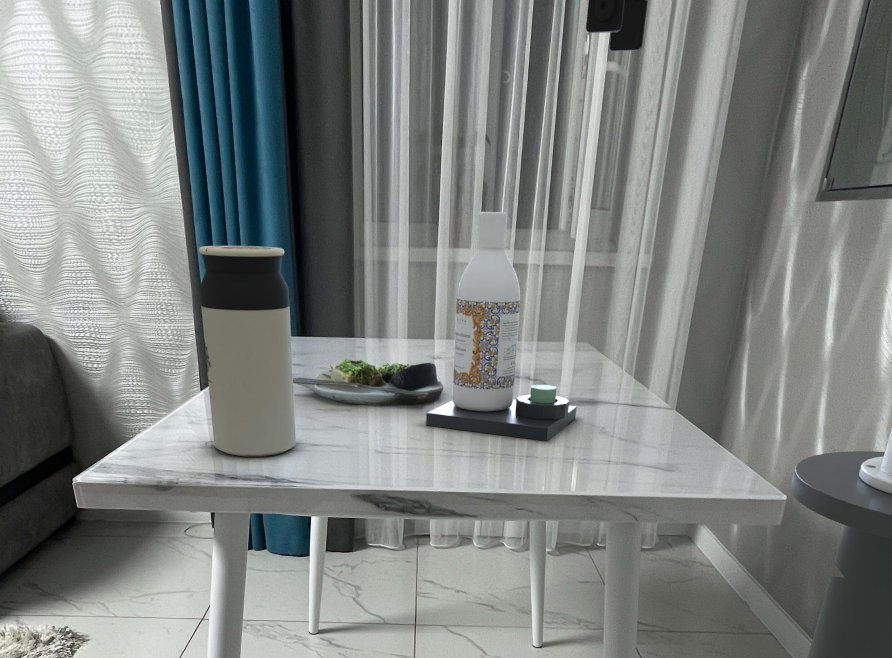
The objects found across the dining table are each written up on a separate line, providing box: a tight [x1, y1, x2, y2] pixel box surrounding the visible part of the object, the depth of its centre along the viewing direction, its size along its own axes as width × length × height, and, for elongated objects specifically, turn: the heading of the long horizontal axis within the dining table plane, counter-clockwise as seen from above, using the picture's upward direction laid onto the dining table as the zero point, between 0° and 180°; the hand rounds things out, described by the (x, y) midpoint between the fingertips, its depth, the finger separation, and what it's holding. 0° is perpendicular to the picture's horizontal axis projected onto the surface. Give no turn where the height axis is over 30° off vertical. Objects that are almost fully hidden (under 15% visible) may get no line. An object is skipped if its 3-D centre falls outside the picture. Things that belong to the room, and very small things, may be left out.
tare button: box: [529, 384, 557, 403], centre depth 90 cm, size 3×3×2 cm
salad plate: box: [293, 358, 444, 406], centre depth 104 cm, size 19×18×5 cm
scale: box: [425, 394, 578, 442], centre depth 92 cm, size 14×12×3 cm
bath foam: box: [452, 211, 521, 412], centre depth 89 cm, size 7×7×20 cm
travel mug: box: [198, 245, 297, 457], centre depth 76 cm, size 8×8×18 cm
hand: (614, 41), depth 78 cm, fingers open, 9 cm apart
